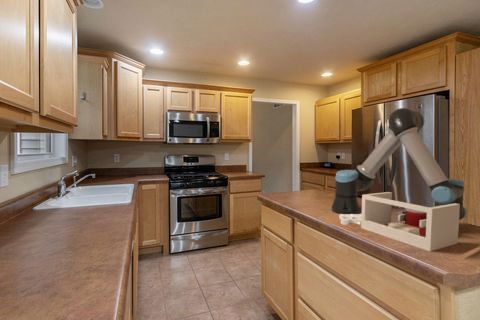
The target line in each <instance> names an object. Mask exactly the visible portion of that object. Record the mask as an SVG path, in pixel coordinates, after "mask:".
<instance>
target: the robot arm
mask: <svg viewBox="0 0 480 320" xmlns="http://www.w3.org/2000/svg"><path fill="white" fill-rule="evenodd" d="M424 117H425V116H424V115H423V113H421V112H420V111H418V110H415V109H411V108H410V109H409V108H406V107H400V108H397V109H395V110H393V111H392V112H391V113H390V115H389V116H388V123H387V124H388V127H387V130H388V132H387V133H386V134H385V136H383V138H382V139H381V141H379V143H378V144H377V145H376V147H375V148H374V149H373V151H371V153H370V154H369V155H368V157H367V158H366V159H365V160H364V162H363V163H362V164H358V165H356V167H355V169H341V170H339V171H336V174H335V177H334V178H335V179H334V180H335V182H334V183H335V185H334V187H335V191H334V193H335V194H334V199H333V202H332V205H331V211H332V212H334V213H337V214H339V215H340V214H361V208H360V204H359V202H358V192H361V191H366V190H368V189H370V188H371V187H372V185H373V183H374V180H375V178H376V173H377V172H378V171H379V169H380V168H381V167H382V166H383V165H384V164H385V163H386V162H387V160H388V159H390V158H391V156H392V154H394V152H395V151H396V150H397V149H398V147H400V145H401V144H402V145H403V147H404V148H405V150H406V152H407V153H408V155H409V156H410V158H411V160H412V162H413V163H414V164H415V166H416V168H417V170H418V172H419V173H420V175H421V176H422V178H423V179H424V181H425V183H426V185H427V186H428V188H429V190H430V192H431V193H430V194H431V199H432V200H433V202H435V203H437V204H440V205H441V206H442V205H448V204H454V203H456V204H460V211H459V221H460V220H463V219H464V218H466V216H467V214H468V213H467V209H466V207H465V206H464V196H465V195H464V194H465V193H464V192H465V182H464V180H462V179H459V178H458V179H456V178H447V176H446V175H445V173H444V172H443V170H442V168H441V167H440V165H439V164H438V162H437V160H436V159H435V157H434V155H433V154H432V152H431V151H430V150H429V148H428V146H427V145H426V143H425V141H424V140H423V139H422V137H421V135H420V134H419V133H418V132H420V131H421V130H422V129H423V128H424V125H425V118H424ZM426 221H427V219H424V220H420V223H419V227H421V228H422V227H426ZM397 222H400V223H402V222H405V211H402V214H398V215H397Z"/></svg>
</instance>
